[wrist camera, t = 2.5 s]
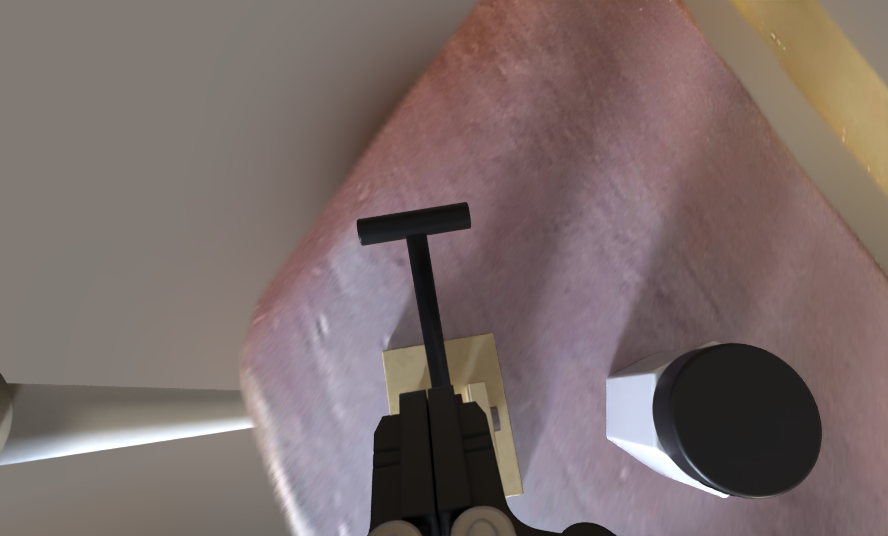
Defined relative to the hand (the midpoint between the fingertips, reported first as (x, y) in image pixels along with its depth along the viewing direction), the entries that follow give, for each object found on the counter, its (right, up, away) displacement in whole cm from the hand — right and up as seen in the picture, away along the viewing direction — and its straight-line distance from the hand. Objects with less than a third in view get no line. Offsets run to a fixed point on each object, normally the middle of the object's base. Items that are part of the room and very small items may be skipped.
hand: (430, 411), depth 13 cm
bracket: (+1, -8, +24) cm, 26 cm away
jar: (+17, -7, +24) cm, 31 cm away
